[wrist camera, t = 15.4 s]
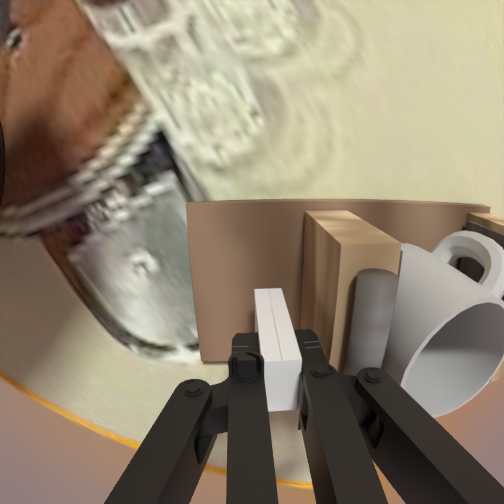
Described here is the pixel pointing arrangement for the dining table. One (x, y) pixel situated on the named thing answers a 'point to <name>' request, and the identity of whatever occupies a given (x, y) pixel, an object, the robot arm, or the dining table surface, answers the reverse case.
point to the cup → (447, 322)
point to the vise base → (298, 253)
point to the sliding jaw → (349, 288)
